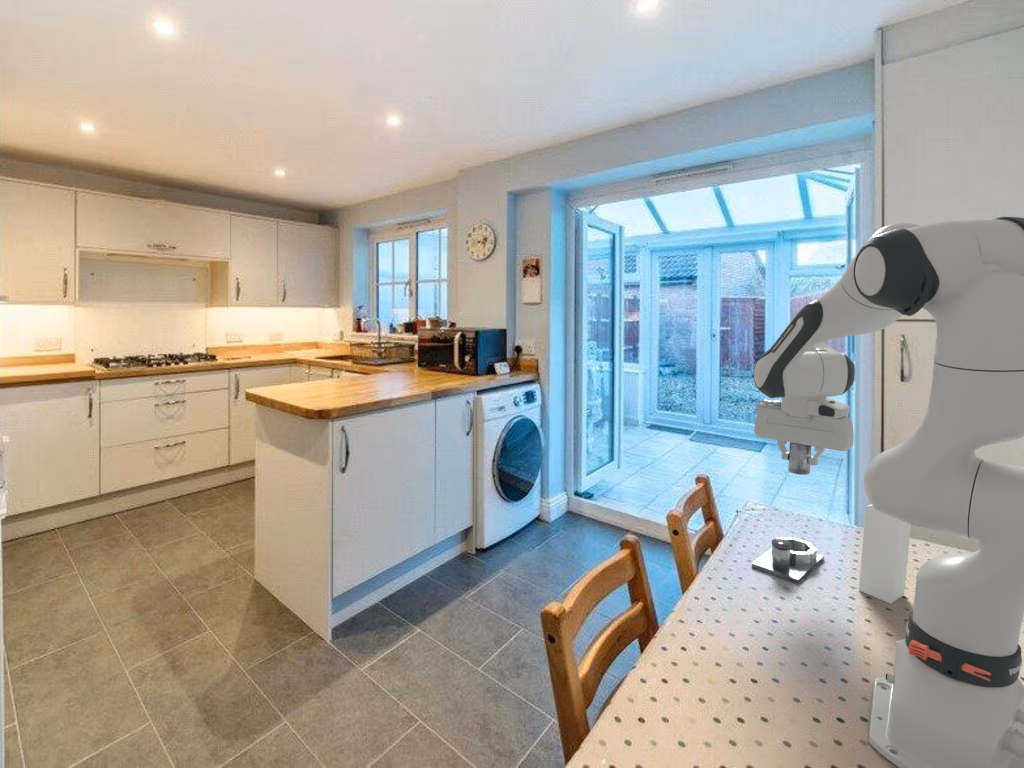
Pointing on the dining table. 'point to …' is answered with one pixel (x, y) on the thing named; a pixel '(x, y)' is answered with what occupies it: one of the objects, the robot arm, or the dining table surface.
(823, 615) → the dining table surface
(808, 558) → the flange
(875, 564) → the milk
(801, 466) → the grey cylindrical peg
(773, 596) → the dining table surface
